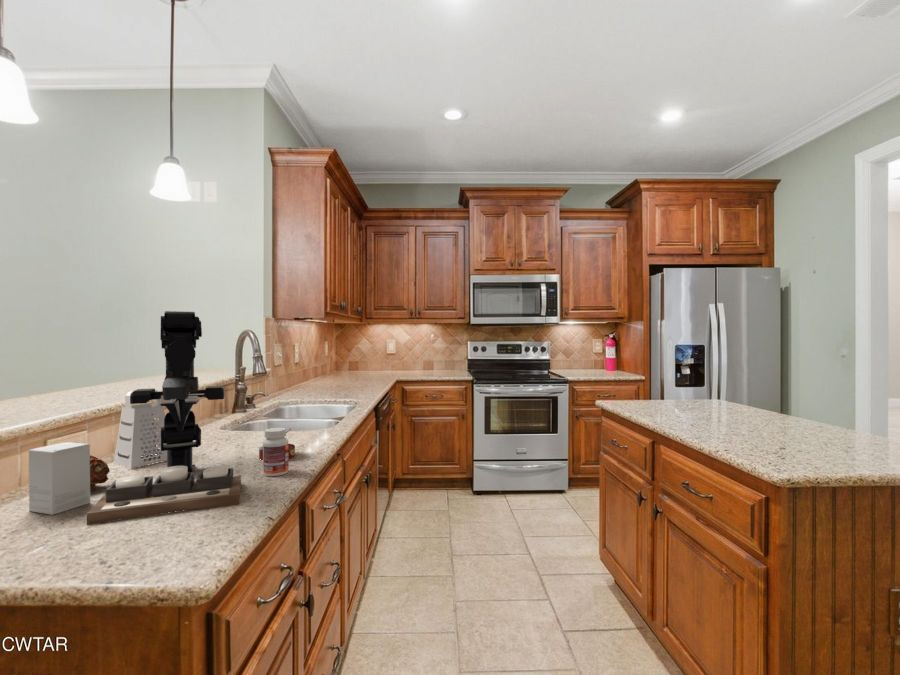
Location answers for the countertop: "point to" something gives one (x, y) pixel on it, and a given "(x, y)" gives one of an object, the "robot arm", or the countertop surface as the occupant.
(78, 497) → the supplement box
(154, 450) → the grater
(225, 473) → the button
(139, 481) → the button
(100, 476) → the dragon fruit
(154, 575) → the countertop surface
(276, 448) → the pill bottle
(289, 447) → the canned food
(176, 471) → the button middle
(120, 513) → the button board
